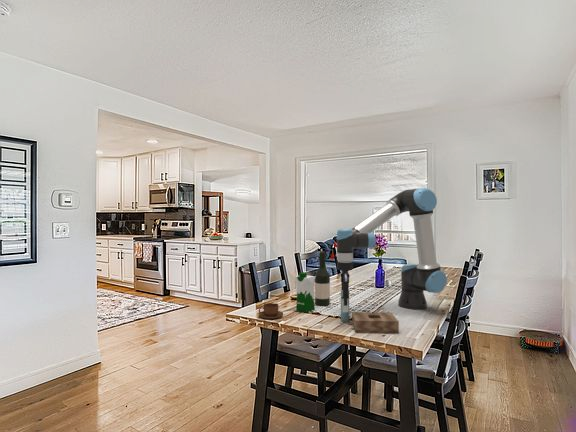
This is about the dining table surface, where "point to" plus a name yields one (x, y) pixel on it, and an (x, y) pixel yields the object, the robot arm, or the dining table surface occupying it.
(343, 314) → the pin
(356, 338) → the dining table surface
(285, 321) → the dining table surface
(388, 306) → the dining table surface
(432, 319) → the dining table surface
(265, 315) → the cup and saucer
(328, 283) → the wine bottle
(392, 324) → the block
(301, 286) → the milk carton
